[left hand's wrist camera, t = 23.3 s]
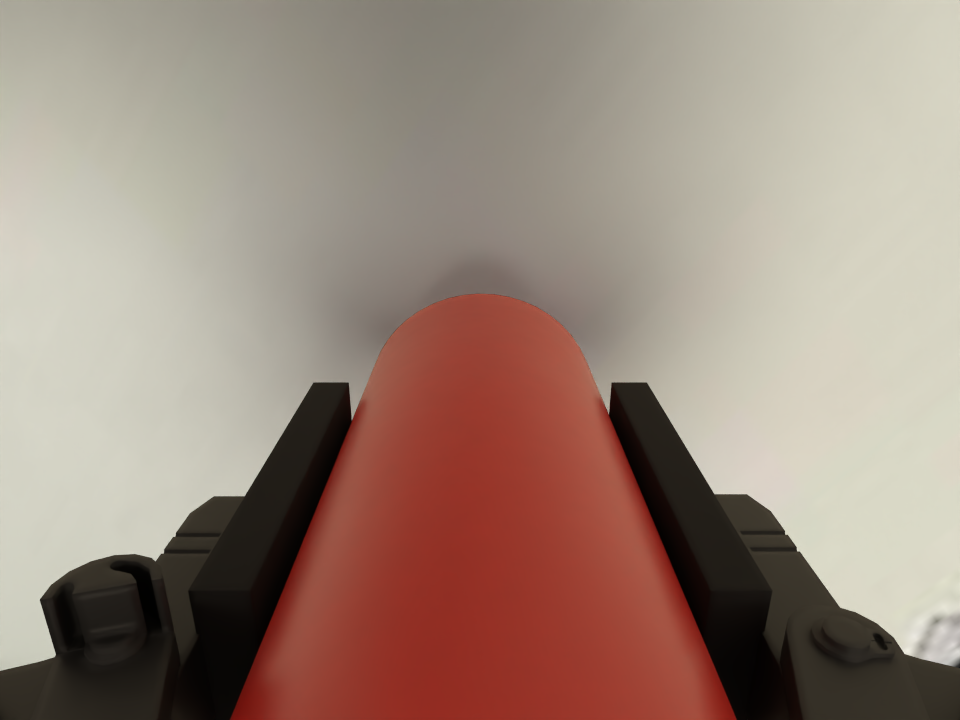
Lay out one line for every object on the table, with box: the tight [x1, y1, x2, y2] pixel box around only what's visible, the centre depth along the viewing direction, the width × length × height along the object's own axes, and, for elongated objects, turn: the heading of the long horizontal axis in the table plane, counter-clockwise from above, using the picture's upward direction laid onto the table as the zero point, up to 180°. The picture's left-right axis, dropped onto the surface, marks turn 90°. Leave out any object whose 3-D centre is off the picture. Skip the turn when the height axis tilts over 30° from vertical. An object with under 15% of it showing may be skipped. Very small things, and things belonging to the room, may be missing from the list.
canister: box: [230, 294, 737, 720], centre depth 11 cm, size 6×6×12 cm
